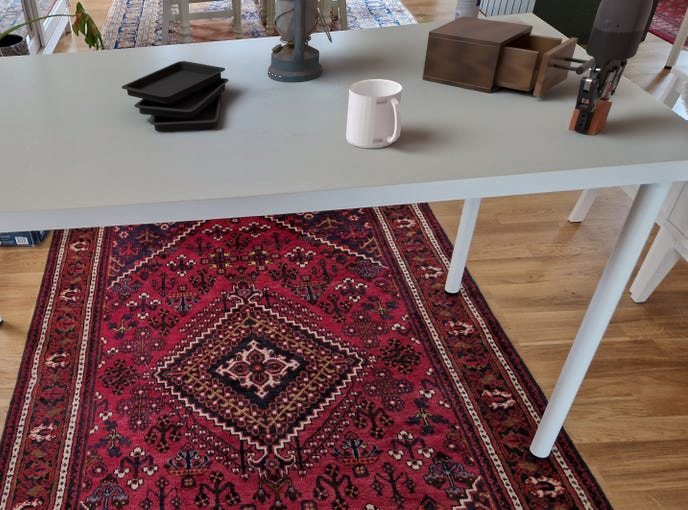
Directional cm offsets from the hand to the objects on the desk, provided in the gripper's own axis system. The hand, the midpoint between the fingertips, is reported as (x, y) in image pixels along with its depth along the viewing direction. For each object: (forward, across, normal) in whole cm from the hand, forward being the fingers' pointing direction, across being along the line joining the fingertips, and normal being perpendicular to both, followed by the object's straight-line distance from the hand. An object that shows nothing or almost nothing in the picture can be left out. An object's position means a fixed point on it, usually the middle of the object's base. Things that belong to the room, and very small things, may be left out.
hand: (586, 126), depth 116 cm
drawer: (-1, +14, +17) cm, 22 cm away
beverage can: (+1, +43, +48) cm, 64 cm away
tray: (+1, -36, +71) cm, 80 cm away
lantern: (+1, -4, +64) cm, 64 cm away
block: (0, 0, 0) cm, 0 cm away
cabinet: (0, +14, +30) cm, 33 cm away
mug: (+1, -27, +27) cm, 38 cm away
